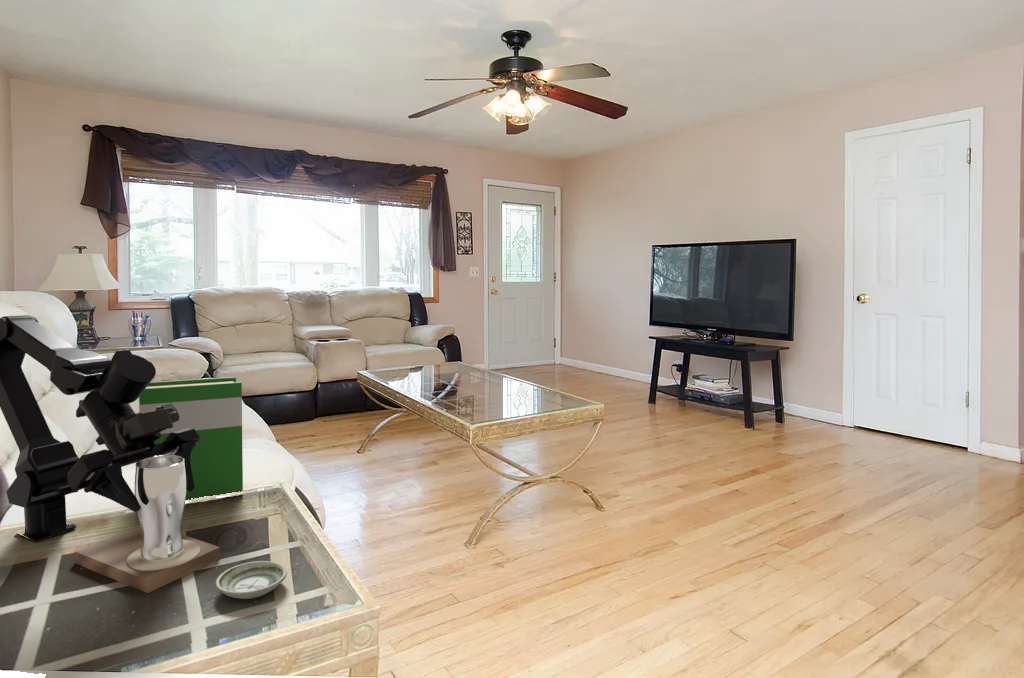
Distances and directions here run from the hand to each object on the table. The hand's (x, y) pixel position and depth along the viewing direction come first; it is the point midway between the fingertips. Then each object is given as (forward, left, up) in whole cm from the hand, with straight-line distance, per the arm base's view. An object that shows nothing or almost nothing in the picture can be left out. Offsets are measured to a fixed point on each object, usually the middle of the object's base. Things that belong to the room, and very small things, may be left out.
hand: (166, 499), depth 91 cm
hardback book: (-23, +21, -11) cm, 33 cm away
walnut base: (-5, 0, -11) cm, 12 cm away
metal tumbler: (-1, 0, -9) cm, 9 cm away
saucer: (+16, +2, -12) cm, 20 cm away
